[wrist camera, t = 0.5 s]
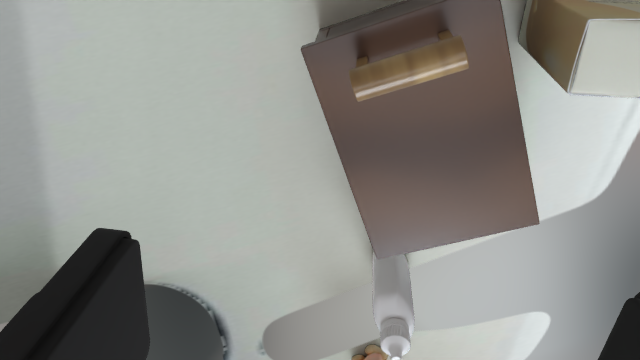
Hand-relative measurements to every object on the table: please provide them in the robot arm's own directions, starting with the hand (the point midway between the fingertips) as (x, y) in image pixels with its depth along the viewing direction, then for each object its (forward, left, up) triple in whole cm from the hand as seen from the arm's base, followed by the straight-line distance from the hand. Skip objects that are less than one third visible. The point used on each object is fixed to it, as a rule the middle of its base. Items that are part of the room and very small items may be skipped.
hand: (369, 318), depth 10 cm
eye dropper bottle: (+24, -5, -33) cm, 41 cm away
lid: (+7, +2, -24) cm, 25 cm away
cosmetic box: (+5, +14, -33) cm, 36 cm away
